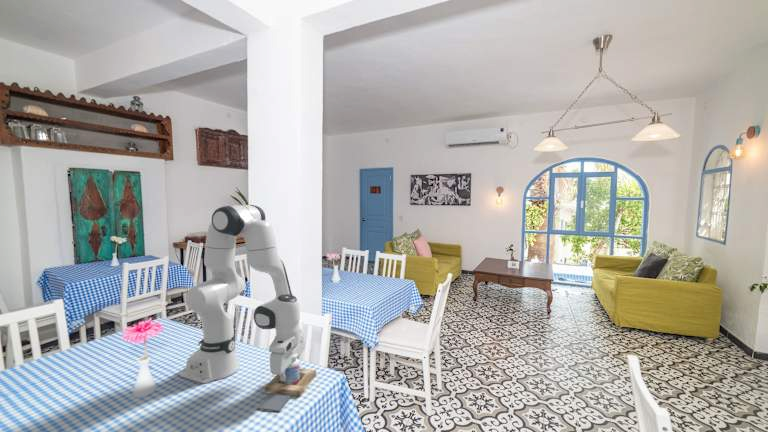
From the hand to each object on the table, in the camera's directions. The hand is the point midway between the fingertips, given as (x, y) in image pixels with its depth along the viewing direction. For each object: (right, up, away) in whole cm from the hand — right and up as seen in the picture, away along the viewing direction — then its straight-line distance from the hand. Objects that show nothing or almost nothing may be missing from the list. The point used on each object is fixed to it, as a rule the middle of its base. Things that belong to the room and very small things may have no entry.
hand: (289, 373), depth 120 cm
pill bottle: (+1, -5, +1) cm, 5 cm away
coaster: (-2, -5, -11) cm, 12 cm away
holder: (+1, -4, +1) cm, 4 cm away
